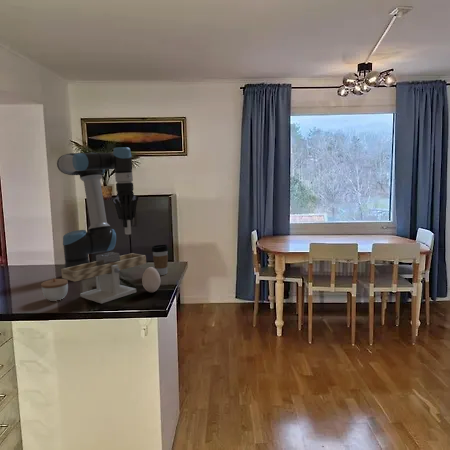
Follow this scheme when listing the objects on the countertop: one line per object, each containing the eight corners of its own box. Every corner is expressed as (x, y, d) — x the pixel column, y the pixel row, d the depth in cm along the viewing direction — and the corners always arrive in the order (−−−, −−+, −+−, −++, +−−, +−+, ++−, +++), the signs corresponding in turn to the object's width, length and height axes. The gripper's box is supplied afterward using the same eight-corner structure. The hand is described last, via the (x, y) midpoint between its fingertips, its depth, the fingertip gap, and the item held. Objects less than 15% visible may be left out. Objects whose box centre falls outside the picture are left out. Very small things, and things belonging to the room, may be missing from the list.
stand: (101, 303, 170) (98, 270, 168) (80, 296, 181) (77, 265, 179) (136, 292, 184) (134, 261, 182) (114, 286, 194) (112, 257, 192)
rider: (104, 268, 176) (103, 256, 176) (96, 266, 180) (95, 255, 179) (120, 264, 182) (119, 253, 182) (112, 262, 186) (111, 251, 185)
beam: (74, 281, 164) (74, 271, 163) (62, 277, 170) (61, 268, 170) (146, 263, 191) (145, 255, 190) (132, 260, 197) (132, 252, 197)
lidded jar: (47, 296, 183) (45, 275, 182) (72, 294, 184) (70, 274, 183) (39, 304, 173) (36, 282, 171) (65, 302, 174) (63, 281, 172)
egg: (145, 296, 178) (143, 270, 176) (141, 291, 185) (139, 266, 183) (163, 293, 181) (161, 267, 179) (158, 288, 188) (156, 264, 187)
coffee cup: (166, 276, 208) (164, 247, 206) (150, 275, 210) (148, 247, 208) (172, 271, 216) (170, 243, 214) (156, 271, 218) (154, 243, 216)
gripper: (117, 183, 178) (121, 237, 181) (141, 181, 187) (144, 232, 191) (107, 183, 182) (111, 235, 186) (131, 181, 192) (134, 231, 196)
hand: (128, 234), depth 189 cm, fingers closed
